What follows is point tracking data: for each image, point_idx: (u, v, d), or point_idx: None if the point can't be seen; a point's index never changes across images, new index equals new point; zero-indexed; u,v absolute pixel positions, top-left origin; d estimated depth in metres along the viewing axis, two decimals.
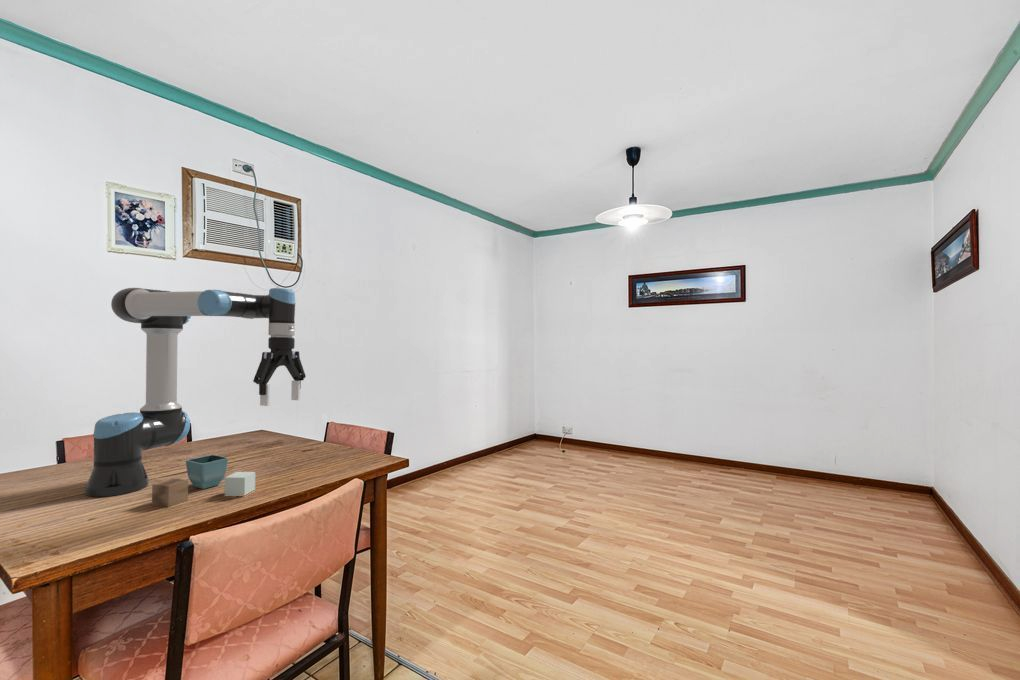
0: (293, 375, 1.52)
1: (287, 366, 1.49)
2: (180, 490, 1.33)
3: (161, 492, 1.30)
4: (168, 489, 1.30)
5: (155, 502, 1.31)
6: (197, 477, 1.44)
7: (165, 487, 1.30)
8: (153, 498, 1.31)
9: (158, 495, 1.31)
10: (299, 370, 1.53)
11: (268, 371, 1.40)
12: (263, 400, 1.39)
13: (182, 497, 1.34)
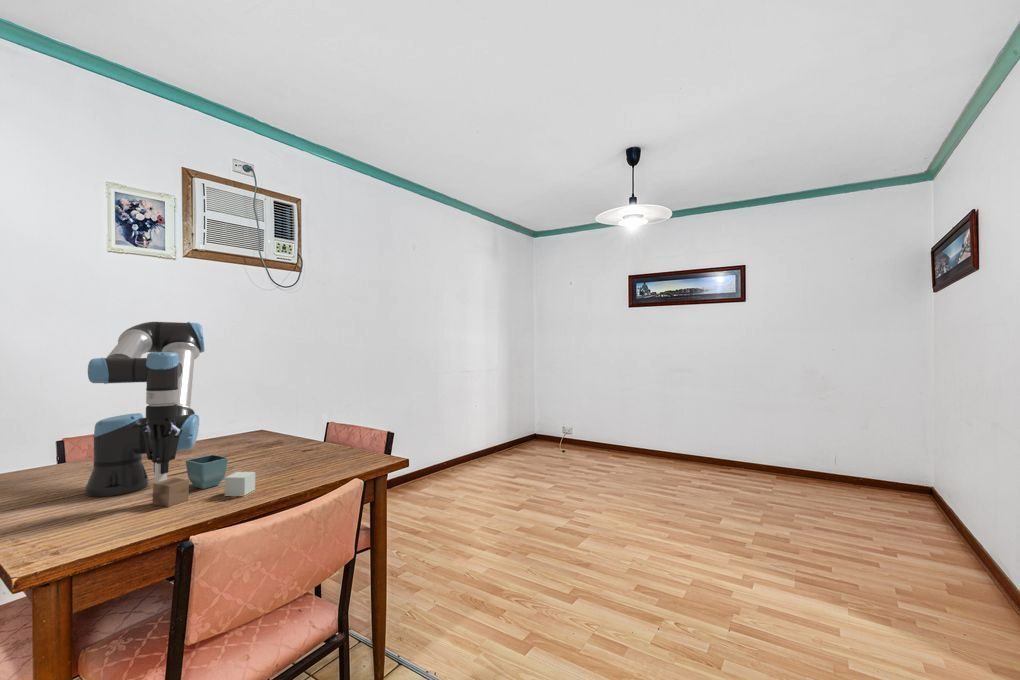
0: None
1: None
2: (181, 490, 1.33)
3: (162, 492, 1.30)
4: (168, 489, 1.30)
5: (156, 502, 1.31)
6: (197, 477, 1.44)
7: (166, 487, 1.30)
8: (154, 497, 1.31)
9: (158, 494, 1.31)
10: None
11: None
12: None
13: (182, 497, 1.34)
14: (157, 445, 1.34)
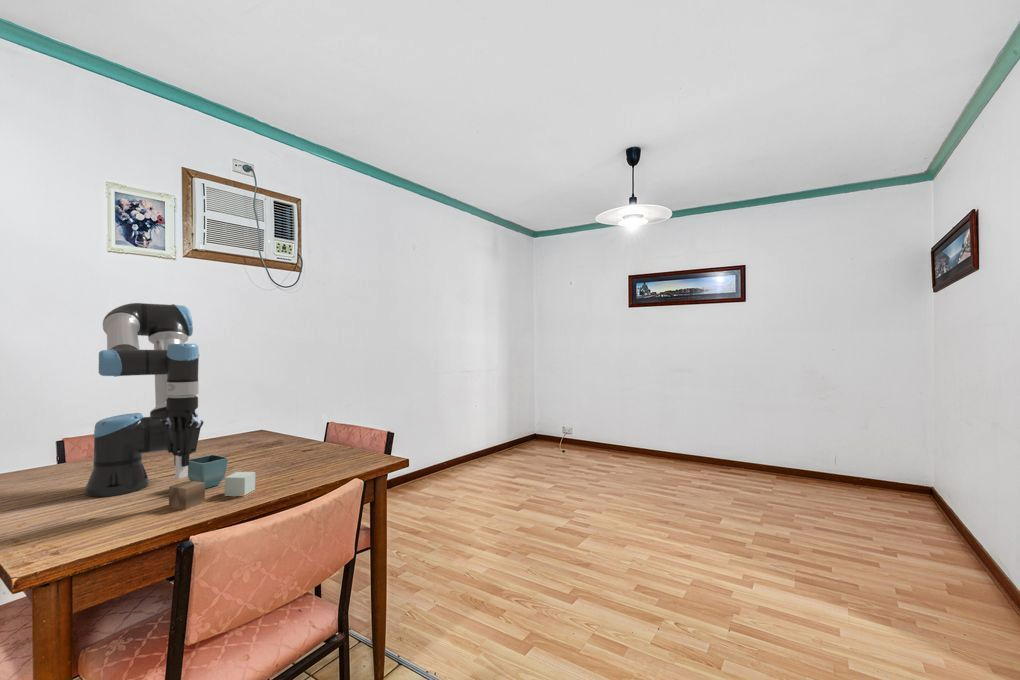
0: None
1: None
2: None
3: (180, 500, 1.29)
4: (183, 508, 1.28)
5: (171, 492, 1.29)
6: (197, 477, 1.44)
7: (184, 505, 1.28)
8: (174, 489, 1.29)
9: (177, 495, 1.29)
10: None
11: None
12: None
13: None
14: (178, 437, 1.32)
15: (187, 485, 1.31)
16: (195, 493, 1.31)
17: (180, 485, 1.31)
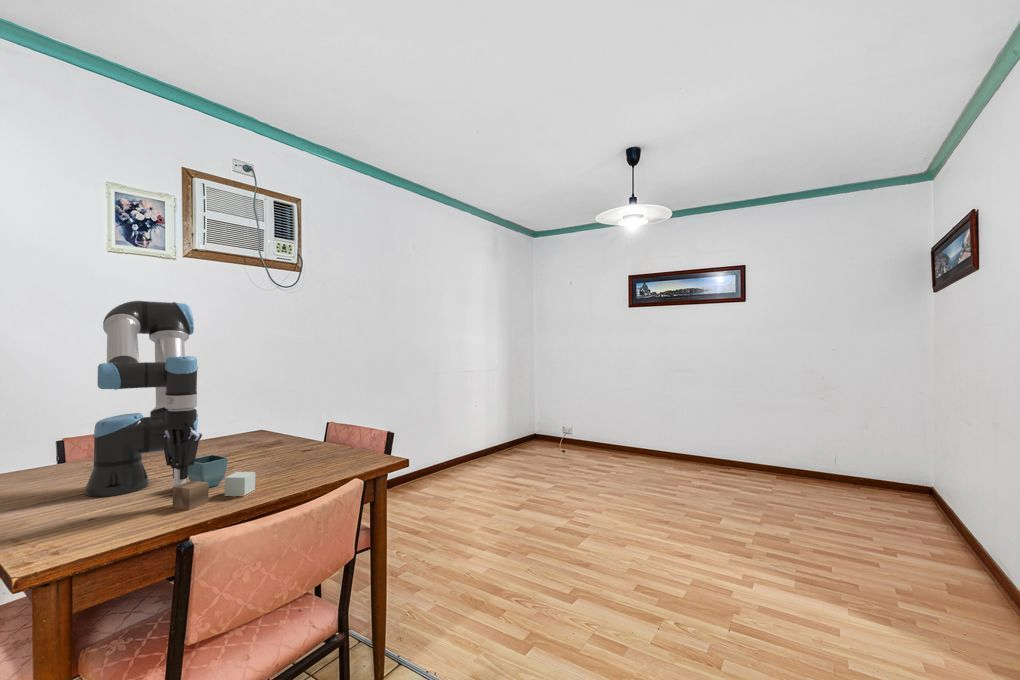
0: None
1: None
2: None
3: (183, 500, 1.28)
4: (186, 508, 1.28)
5: (175, 492, 1.29)
6: (197, 477, 1.44)
7: (188, 505, 1.28)
8: (178, 489, 1.29)
9: (181, 495, 1.29)
10: None
11: None
12: None
13: None
14: (176, 450, 1.32)
15: (191, 485, 1.31)
16: (199, 493, 1.31)
17: (184, 485, 1.31)
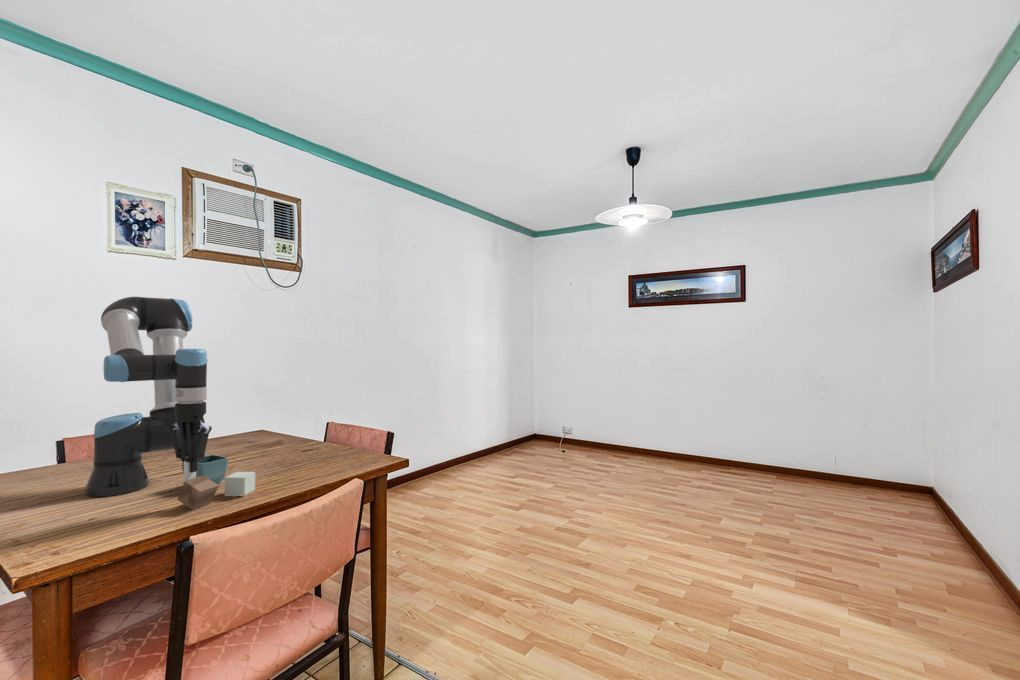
0: None
1: None
2: None
3: (190, 498, 1.28)
4: (190, 508, 1.28)
5: (185, 486, 1.28)
6: None
7: (192, 505, 1.28)
8: (189, 486, 1.28)
9: (189, 493, 1.28)
10: None
11: None
12: None
13: None
14: (186, 443, 1.31)
15: (201, 485, 1.30)
16: (206, 495, 1.30)
17: (195, 482, 1.30)
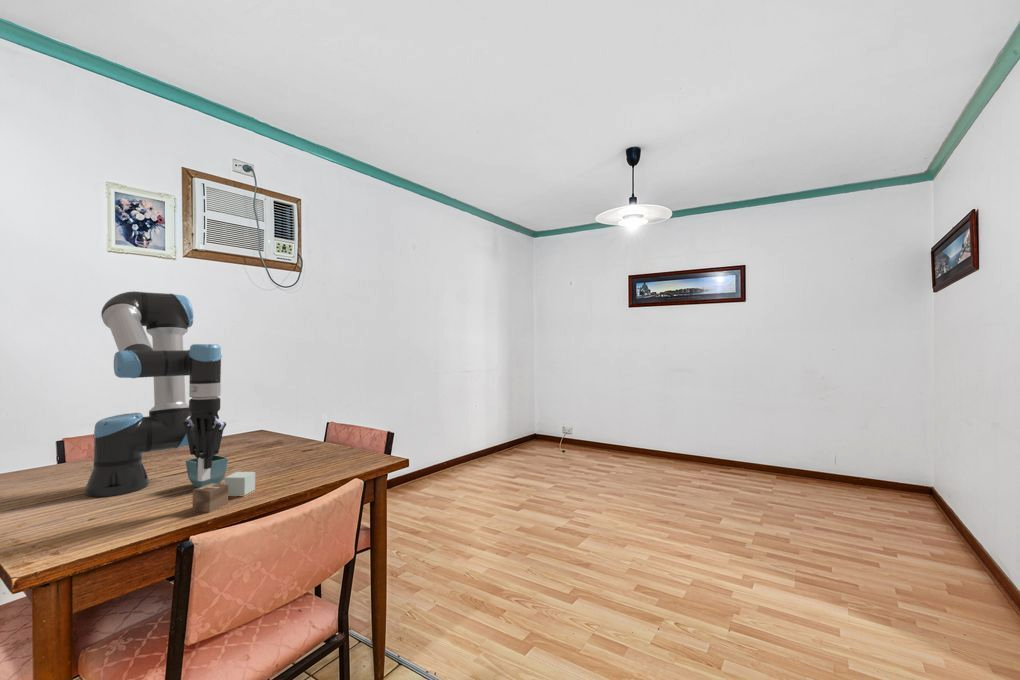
0: None
1: None
2: None
3: (200, 504, 1.27)
4: (193, 507, 1.28)
5: (205, 493, 1.27)
6: (197, 477, 1.44)
7: (195, 509, 1.27)
8: (208, 498, 1.26)
9: (203, 501, 1.27)
10: None
11: None
12: None
13: None
14: (200, 439, 1.30)
15: (217, 501, 1.29)
16: None
17: (215, 496, 1.28)
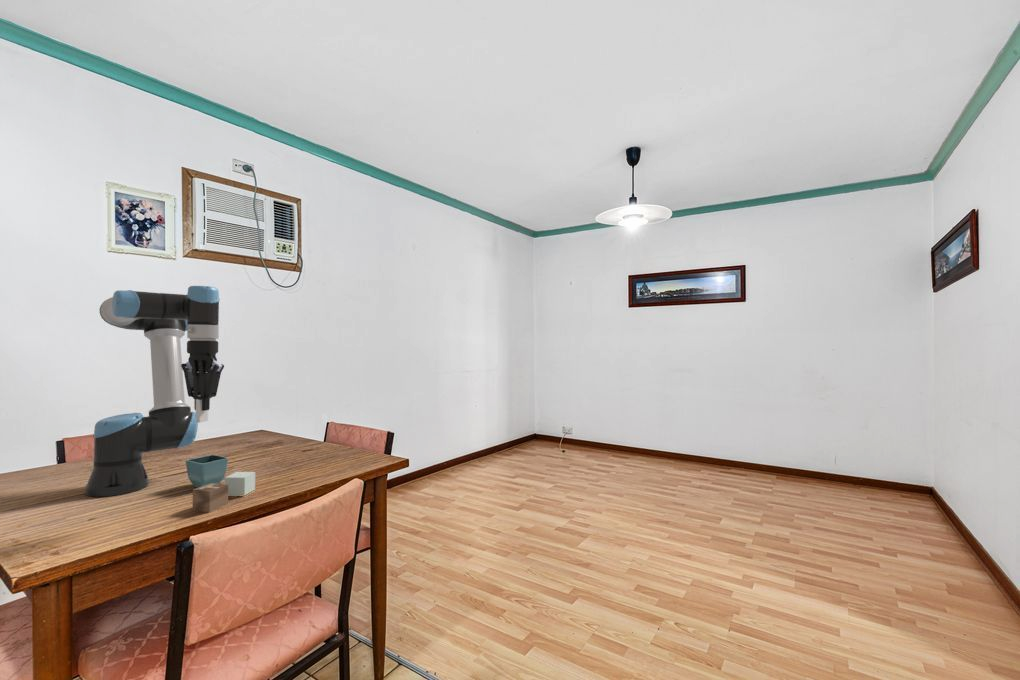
0: None
1: None
2: None
3: (200, 504, 1.27)
4: (193, 507, 1.28)
5: (205, 493, 1.27)
6: (197, 477, 1.44)
7: (195, 509, 1.27)
8: (208, 498, 1.26)
9: (203, 501, 1.27)
10: None
11: None
12: None
13: None
14: (198, 381, 1.30)
15: (217, 501, 1.29)
16: None
17: (215, 496, 1.28)
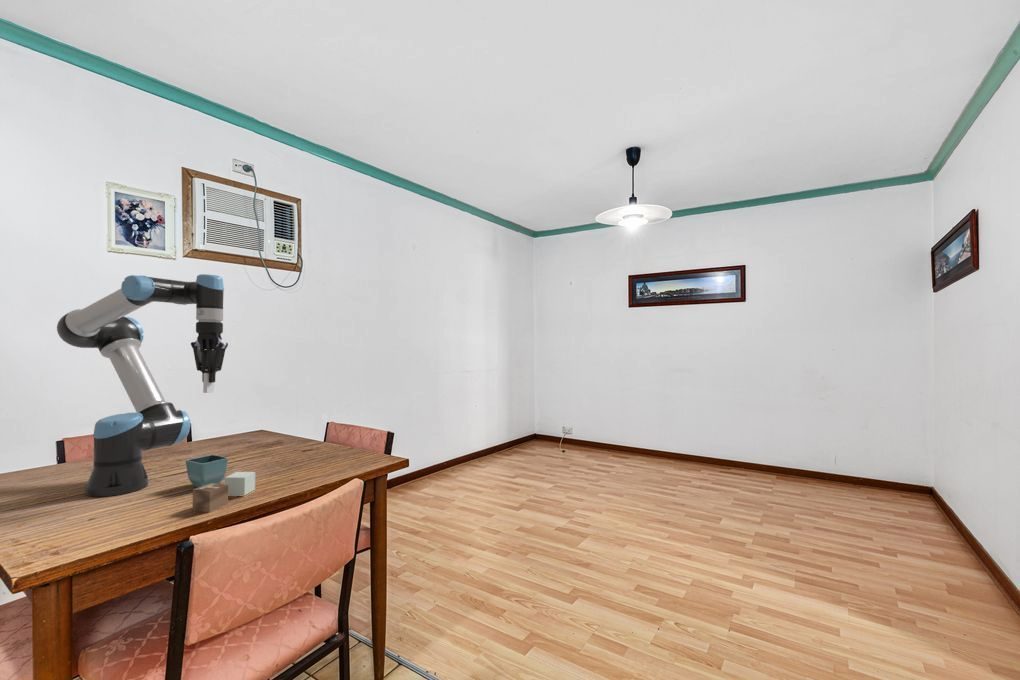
0: None
1: None
2: None
3: (200, 504, 1.27)
4: (193, 507, 1.28)
5: (205, 493, 1.27)
6: (197, 477, 1.44)
7: (195, 509, 1.27)
8: (208, 498, 1.26)
9: (203, 501, 1.27)
10: None
11: None
12: None
13: None
14: (205, 357, 1.51)
15: (217, 501, 1.29)
16: None
17: (215, 496, 1.28)
